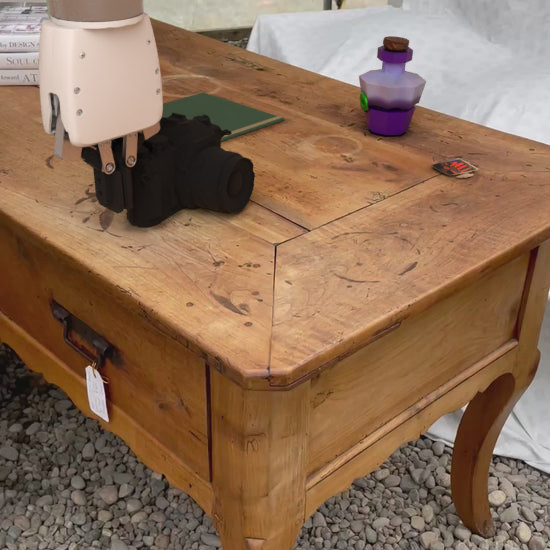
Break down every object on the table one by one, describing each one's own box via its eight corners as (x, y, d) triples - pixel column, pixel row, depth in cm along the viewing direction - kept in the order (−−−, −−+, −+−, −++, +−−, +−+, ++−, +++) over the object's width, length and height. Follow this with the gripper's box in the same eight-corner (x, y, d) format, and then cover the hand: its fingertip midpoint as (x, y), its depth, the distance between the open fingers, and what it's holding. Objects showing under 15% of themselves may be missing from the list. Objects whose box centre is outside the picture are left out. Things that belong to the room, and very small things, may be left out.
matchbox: (427, 168, 91) (428, 164, 91) (455, 158, 94) (456, 155, 94) (459, 181, 88) (459, 177, 88) (486, 171, 91) (487, 167, 91)
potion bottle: (341, 125, 104) (347, 34, 98) (390, 115, 108) (399, 27, 102) (383, 145, 98) (393, 49, 92) (433, 134, 102) (446, 41, 96)
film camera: (194, 247, 73) (192, 157, 69) (114, 222, 77) (106, 136, 73) (274, 192, 85) (276, 111, 80) (200, 173, 89) (199, 95, 84)
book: (185, 154, 94) (185, 151, 93) (103, 122, 103) (103, 119, 103) (284, 120, 105) (284, 118, 105) (203, 94, 114) (203, 92, 114)
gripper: (139, -17, 70) (152, 173, 79) (-13, 6, 60) (22, 219, 70) (195, -5, 66) (202, 194, 75) (42, 21, 56) (71, 246, 65)
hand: (115, 206), depth 72 cm, fingers closed
